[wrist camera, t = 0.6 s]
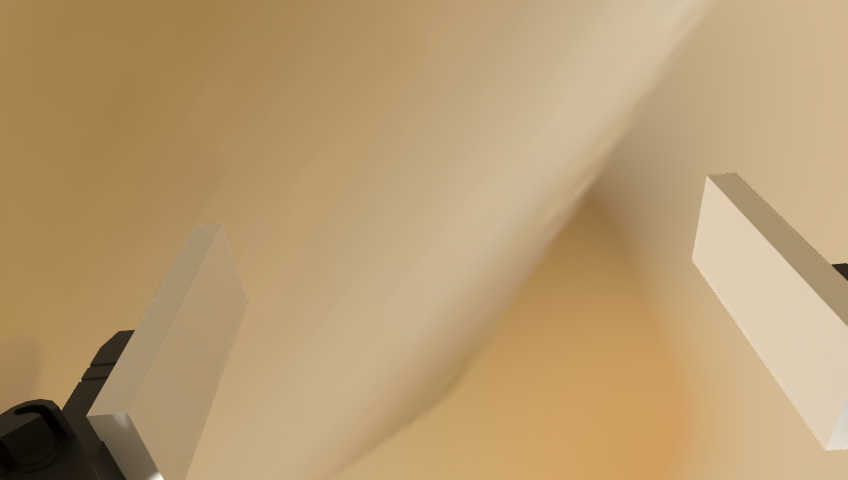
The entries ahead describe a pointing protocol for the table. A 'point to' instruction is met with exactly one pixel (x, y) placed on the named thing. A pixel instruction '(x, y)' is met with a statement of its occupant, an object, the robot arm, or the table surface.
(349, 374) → the table surface
